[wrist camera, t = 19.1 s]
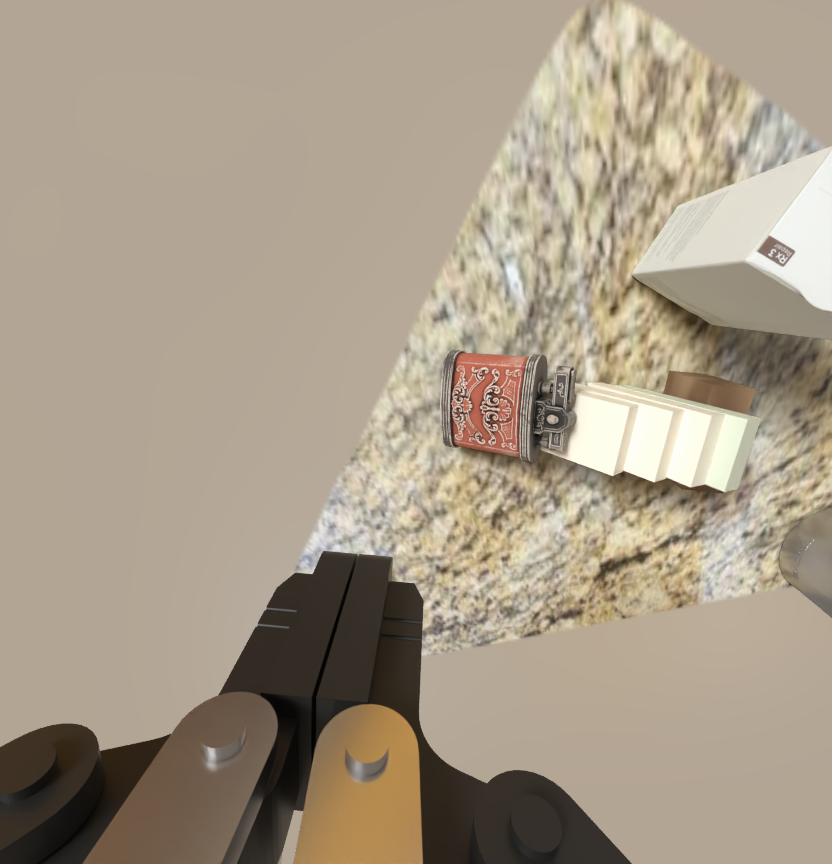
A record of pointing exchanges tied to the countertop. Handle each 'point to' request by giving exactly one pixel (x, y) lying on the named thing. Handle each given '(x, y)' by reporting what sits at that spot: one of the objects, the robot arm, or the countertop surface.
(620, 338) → the countertop surface
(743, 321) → the skincare box
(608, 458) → the domino
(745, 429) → the domino
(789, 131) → the countertop surface
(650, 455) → the domino
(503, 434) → the lighter
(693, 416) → the domino
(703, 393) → the block
